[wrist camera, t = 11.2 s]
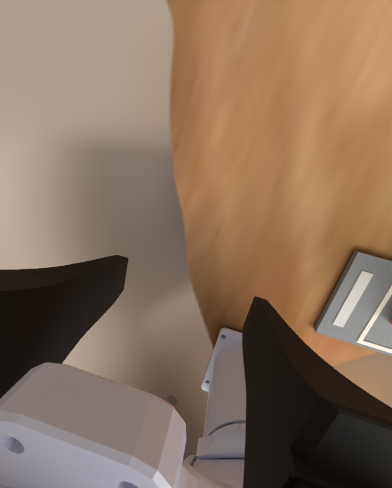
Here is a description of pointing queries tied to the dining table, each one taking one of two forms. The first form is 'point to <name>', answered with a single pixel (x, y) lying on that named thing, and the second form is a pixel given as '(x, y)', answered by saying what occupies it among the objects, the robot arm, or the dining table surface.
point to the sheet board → (361, 304)
